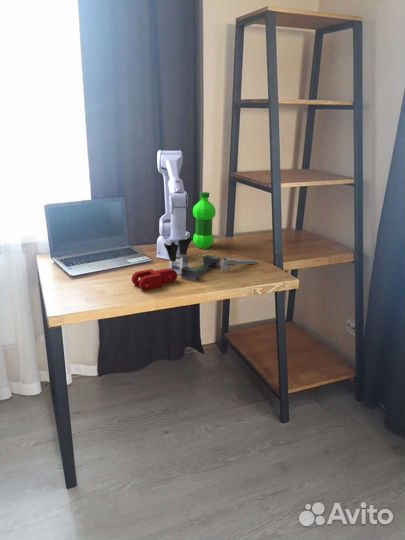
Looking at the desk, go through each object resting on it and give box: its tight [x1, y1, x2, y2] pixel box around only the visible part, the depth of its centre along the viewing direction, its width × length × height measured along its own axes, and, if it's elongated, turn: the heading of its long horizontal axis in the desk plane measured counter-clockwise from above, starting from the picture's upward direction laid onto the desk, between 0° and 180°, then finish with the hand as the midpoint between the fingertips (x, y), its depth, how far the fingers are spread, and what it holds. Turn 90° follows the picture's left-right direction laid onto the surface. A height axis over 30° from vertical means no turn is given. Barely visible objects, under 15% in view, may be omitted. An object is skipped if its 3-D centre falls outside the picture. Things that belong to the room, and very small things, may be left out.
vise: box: [180, 254, 221, 282], centre depth 174 cm, size 6×20×4 cm, turn 151°
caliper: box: [220, 256, 258, 273], centre depth 181 cm, size 20×1×6 cm, turn 131°
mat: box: [165, 263, 194, 276], centre depth 177 cm, size 8×10×1 cm
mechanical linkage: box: [131, 267, 178, 292], centre depth 161 cm, size 16×7×5 cm, turn 125°
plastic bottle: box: [192, 191, 216, 250], centre depth 203 cm, size 10×10×25 cm
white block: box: [168, 253, 189, 271], centre depth 176 cm, size 6×4×6 cm, turn 61°
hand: (177, 258), depth 176 cm, fingers open, 7 cm apart
